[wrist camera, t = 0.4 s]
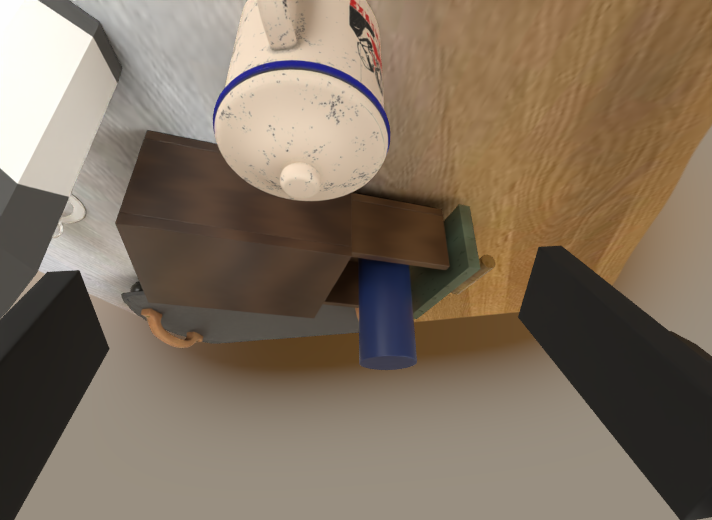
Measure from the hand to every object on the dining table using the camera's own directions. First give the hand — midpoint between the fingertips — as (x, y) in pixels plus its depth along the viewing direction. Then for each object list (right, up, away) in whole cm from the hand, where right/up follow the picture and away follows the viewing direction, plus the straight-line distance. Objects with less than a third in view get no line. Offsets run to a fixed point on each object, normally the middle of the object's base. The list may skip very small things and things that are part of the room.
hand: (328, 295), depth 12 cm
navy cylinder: (+4, +3, +30) cm, 31 cm away
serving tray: (-13, -5, +49) cm, 51 cm away
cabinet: (-10, +7, +28) cm, 30 cm away
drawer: (+5, +4, +31) cm, 32 cm away
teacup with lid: (-2, +16, +12) cm, 20 cm away
